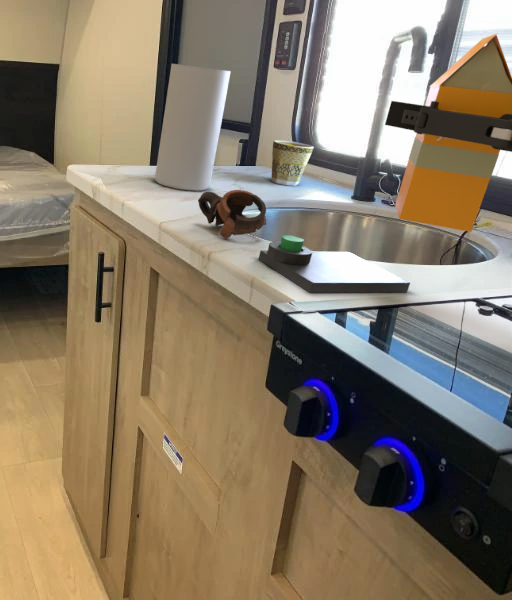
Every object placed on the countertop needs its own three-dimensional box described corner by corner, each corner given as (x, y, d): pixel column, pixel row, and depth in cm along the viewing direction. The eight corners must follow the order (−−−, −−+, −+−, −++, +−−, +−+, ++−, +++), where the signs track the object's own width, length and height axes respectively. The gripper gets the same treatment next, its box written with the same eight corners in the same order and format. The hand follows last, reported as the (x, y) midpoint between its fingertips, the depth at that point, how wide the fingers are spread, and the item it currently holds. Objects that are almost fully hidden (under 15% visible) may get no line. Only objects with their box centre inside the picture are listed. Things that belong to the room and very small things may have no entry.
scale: (346, 260, 94) (351, 242, 92) (407, 292, 82) (414, 271, 81) (255, 259, 88) (259, 239, 87) (307, 293, 77) (312, 271, 76)
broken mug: (263, 234, 104) (279, 200, 98) (242, 268, 99) (258, 233, 92) (202, 204, 107) (214, 168, 100) (178, 235, 101) (189, 199, 95)
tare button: (292, 247, 87) (295, 235, 86) (304, 253, 84) (307, 242, 84) (275, 246, 86) (278, 235, 85) (286, 253, 83) (289, 241, 83)
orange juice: (460, 216, 74) (520, 42, 67) (472, 232, 66) (542, 37, 59) (393, 205, 76) (443, 35, 69) (397, 218, 69) (455, 28, 61)
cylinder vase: (153, 176, 141) (170, 63, 132) (206, 183, 141) (226, 70, 132) (155, 186, 130) (173, 63, 120) (212, 194, 130) (234, 71, 120)
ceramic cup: (298, 189, 149) (308, 148, 145) (259, 181, 153) (268, 141, 150) (311, 183, 159) (320, 145, 156) (275, 176, 164) (283, 138, 160)
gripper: (510, 186, 50) (340, 142, 70) (679, 196, 58) (483, 154, 77) (544, 93, 47) (358, 73, 67) (718, 116, 55) (505, 92, 74)
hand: (425, 116), depth 72 cm, fingers closed on orange juice, 10 cm apart
